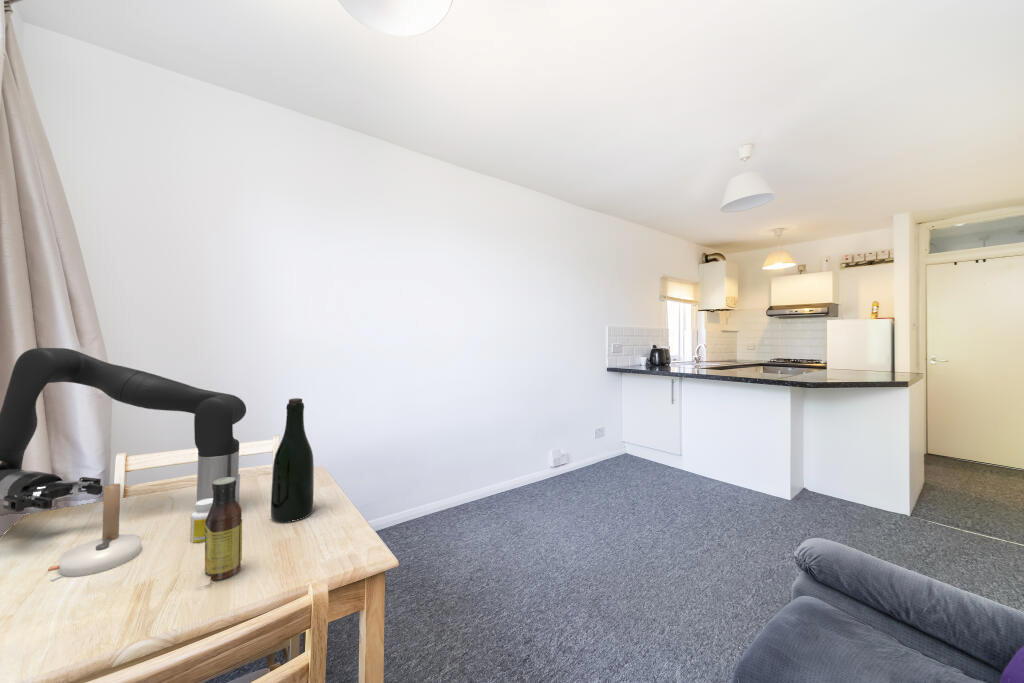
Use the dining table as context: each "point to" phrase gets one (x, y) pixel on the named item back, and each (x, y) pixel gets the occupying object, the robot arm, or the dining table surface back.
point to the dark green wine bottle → (293, 469)
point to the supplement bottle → (199, 520)
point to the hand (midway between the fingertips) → (76, 496)
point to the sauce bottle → (223, 531)
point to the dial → (102, 543)
